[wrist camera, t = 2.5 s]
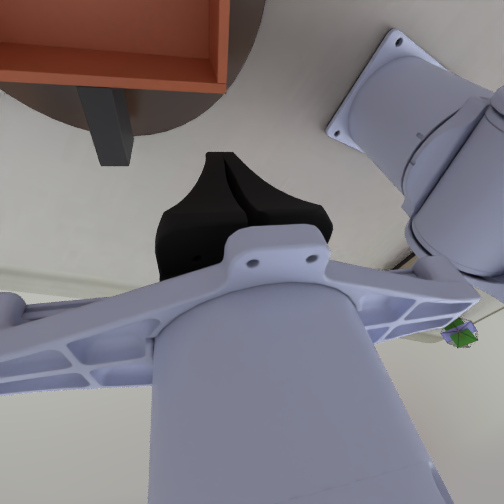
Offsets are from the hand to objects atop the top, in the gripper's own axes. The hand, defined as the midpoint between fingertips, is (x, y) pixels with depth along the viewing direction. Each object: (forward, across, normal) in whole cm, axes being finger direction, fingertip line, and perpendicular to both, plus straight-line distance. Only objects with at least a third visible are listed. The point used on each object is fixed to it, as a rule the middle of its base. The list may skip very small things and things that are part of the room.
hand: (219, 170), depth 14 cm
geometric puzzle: (+10, -57, +46) cm, 74 cm away
